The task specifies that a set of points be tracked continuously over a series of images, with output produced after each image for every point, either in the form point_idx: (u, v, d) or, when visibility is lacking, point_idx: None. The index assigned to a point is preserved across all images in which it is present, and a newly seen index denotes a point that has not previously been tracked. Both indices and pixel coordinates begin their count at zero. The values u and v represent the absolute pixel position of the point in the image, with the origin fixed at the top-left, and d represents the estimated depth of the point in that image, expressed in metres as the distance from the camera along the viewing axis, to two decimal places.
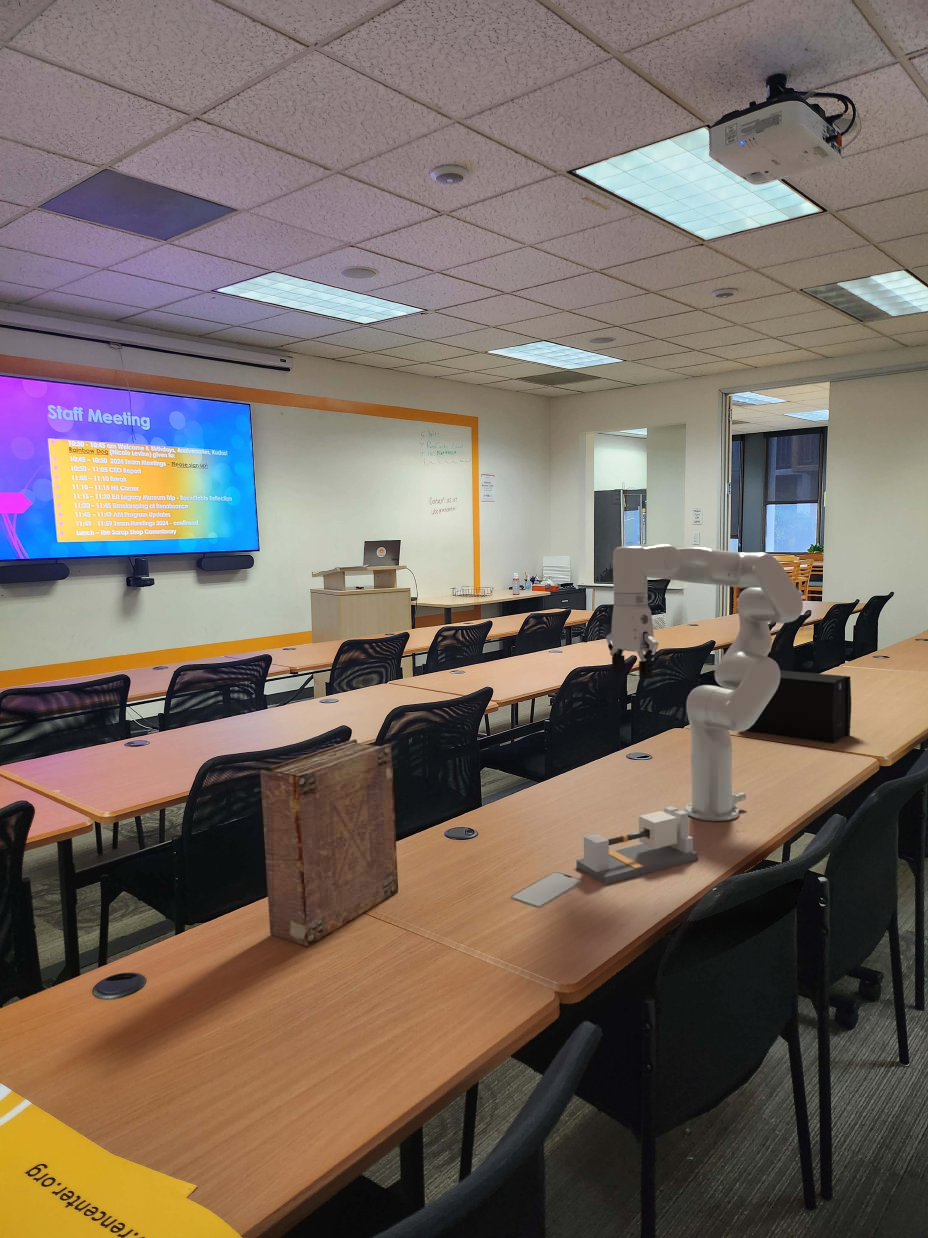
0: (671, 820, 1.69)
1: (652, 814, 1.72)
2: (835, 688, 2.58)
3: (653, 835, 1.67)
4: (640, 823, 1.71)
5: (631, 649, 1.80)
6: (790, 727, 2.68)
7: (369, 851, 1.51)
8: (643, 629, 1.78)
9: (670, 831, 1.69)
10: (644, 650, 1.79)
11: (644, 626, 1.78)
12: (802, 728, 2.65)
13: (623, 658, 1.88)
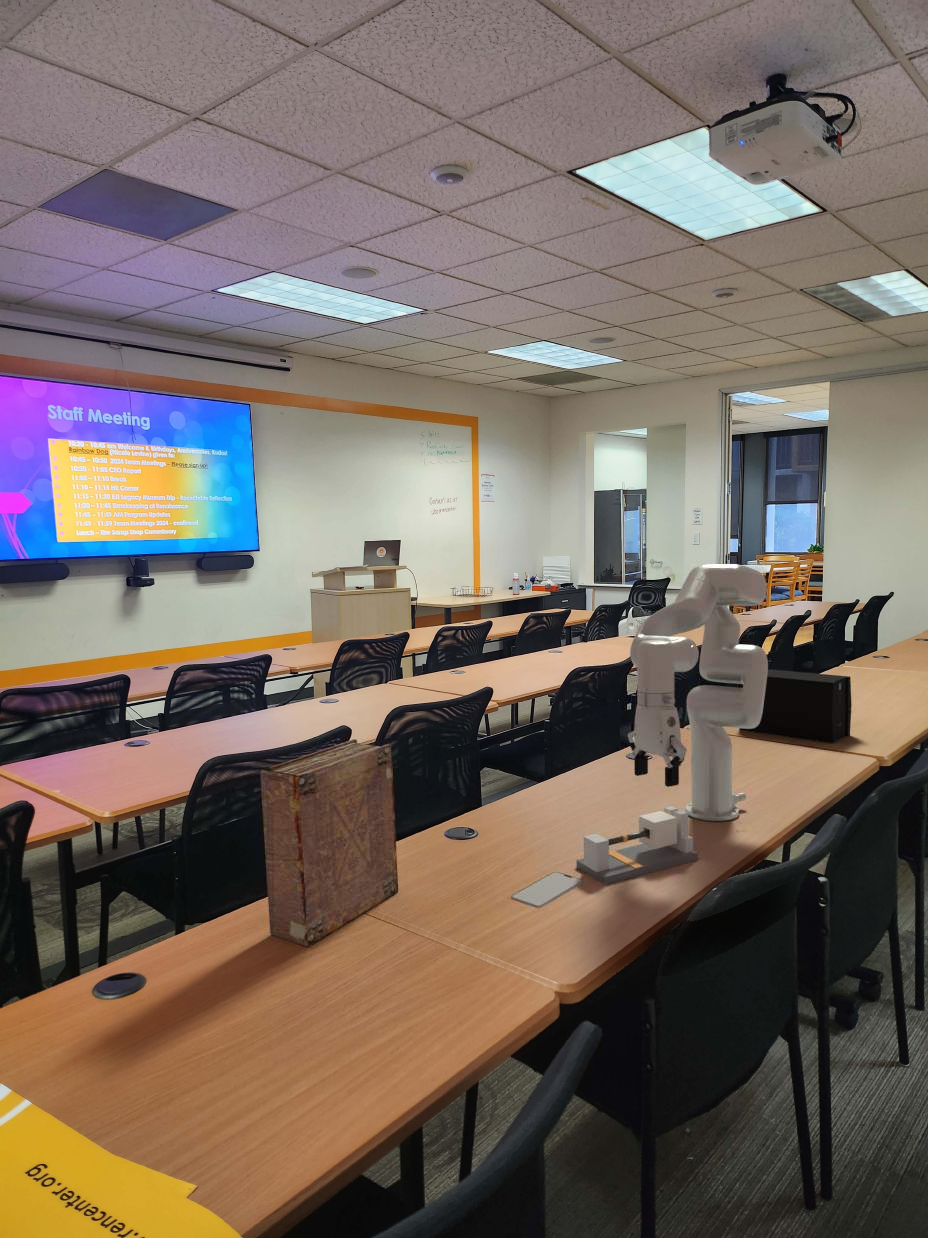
0: (671, 820, 1.69)
1: (652, 814, 1.72)
2: (835, 688, 2.58)
3: (653, 835, 1.67)
4: (640, 823, 1.71)
5: (657, 754, 1.65)
6: (790, 727, 2.68)
7: (369, 851, 1.51)
8: (670, 732, 1.64)
9: (670, 831, 1.69)
10: (670, 755, 1.65)
11: (671, 729, 1.64)
12: (802, 728, 2.65)
13: (646, 759, 1.73)
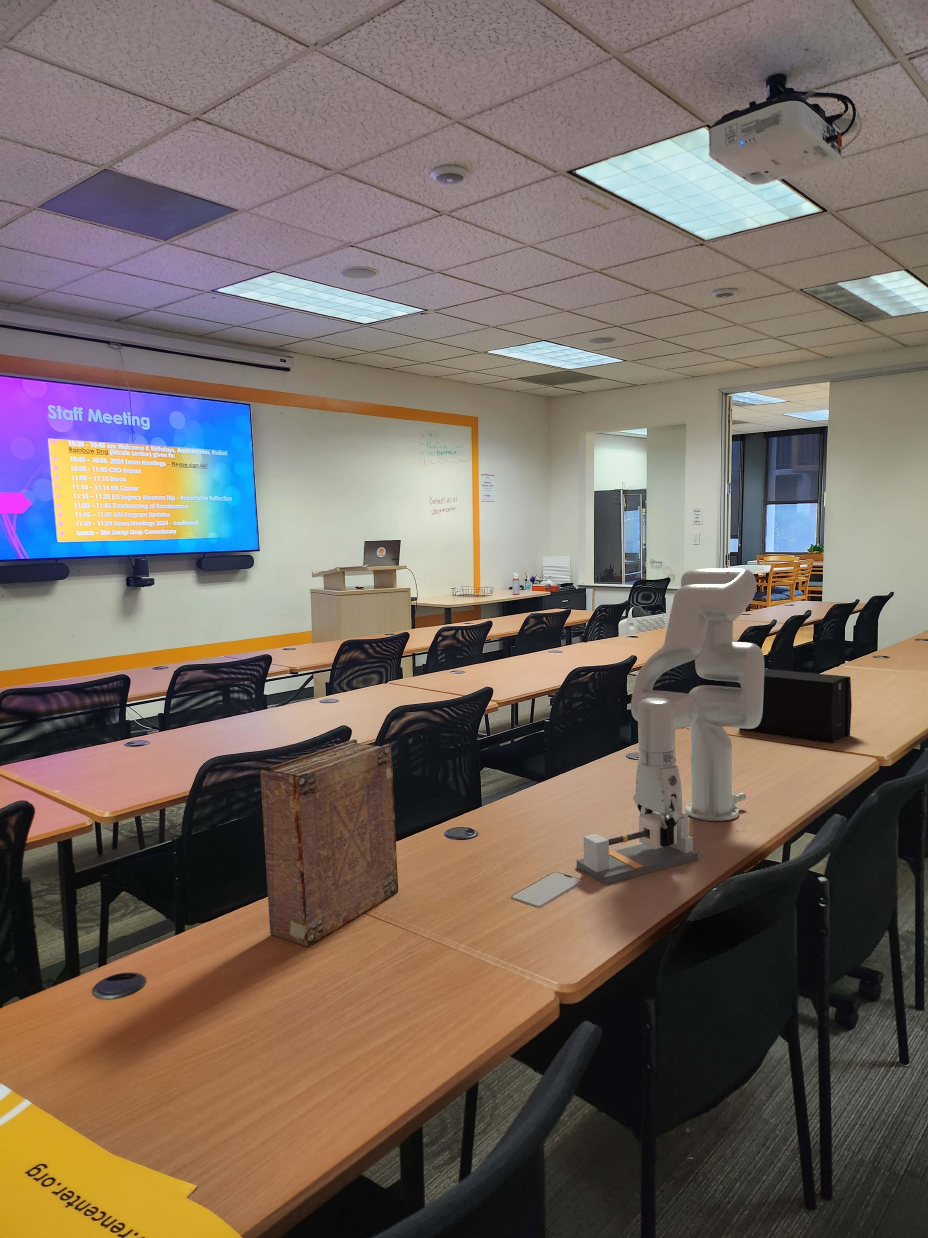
0: None
1: (652, 814, 1.72)
2: (834, 688, 2.58)
3: (653, 835, 1.67)
4: (640, 823, 1.71)
5: (658, 812, 1.67)
6: (790, 727, 2.68)
7: (369, 851, 1.51)
8: (671, 791, 1.65)
9: None
10: None
11: (672, 788, 1.65)
12: (801, 728, 2.65)
13: None
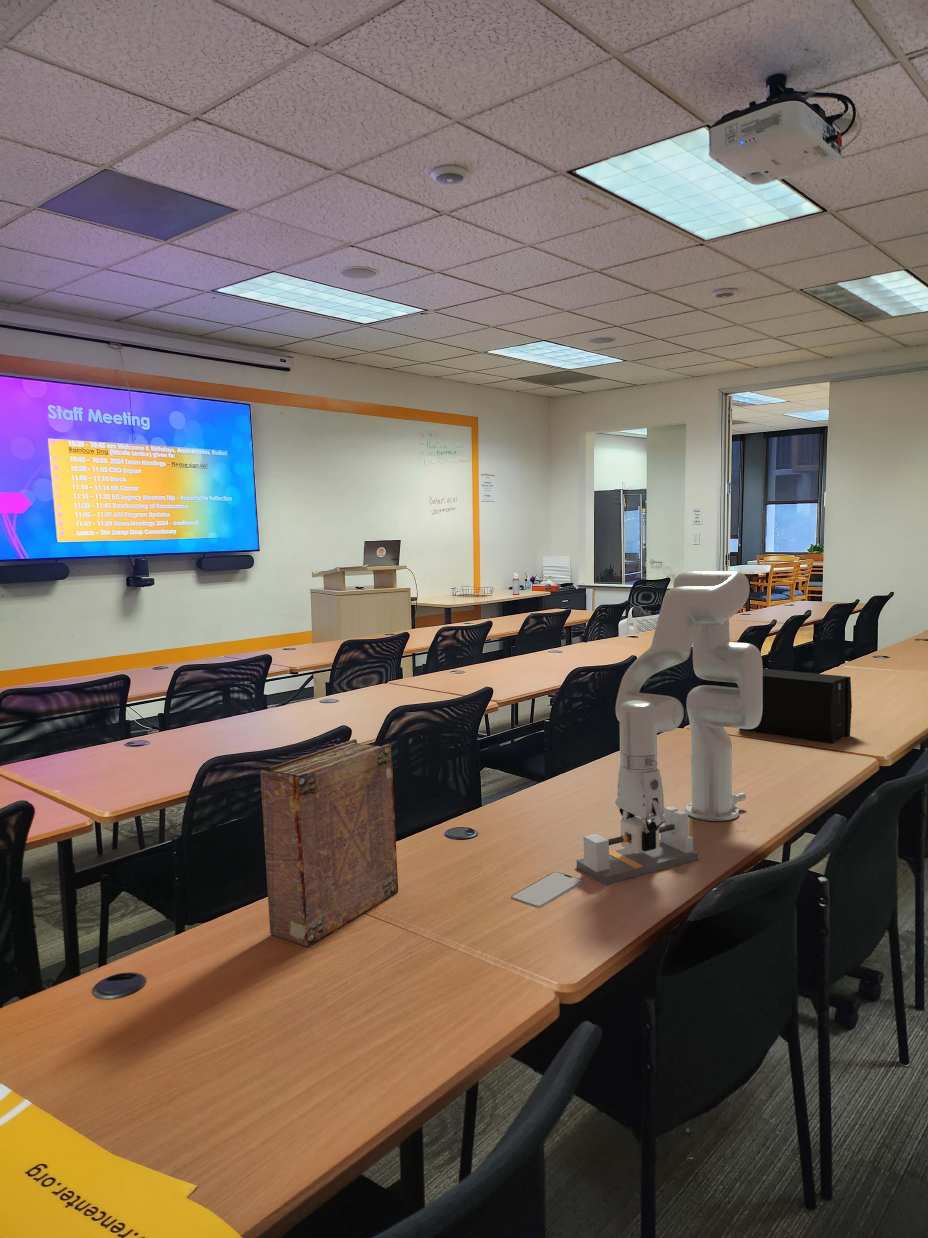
0: None
1: (634, 818, 1.70)
2: (834, 688, 2.58)
3: (635, 840, 1.65)
4: (622, 827, 1.69)
5: (640, 816, 1.65)
6: (790, 727, 2.68)
7: (369, 851, 1.51)
8: (653, 795, 1.63)
9: None
10: None
11: (654, 792, 1.63)
12: (801, 728, 2.65)
13: None
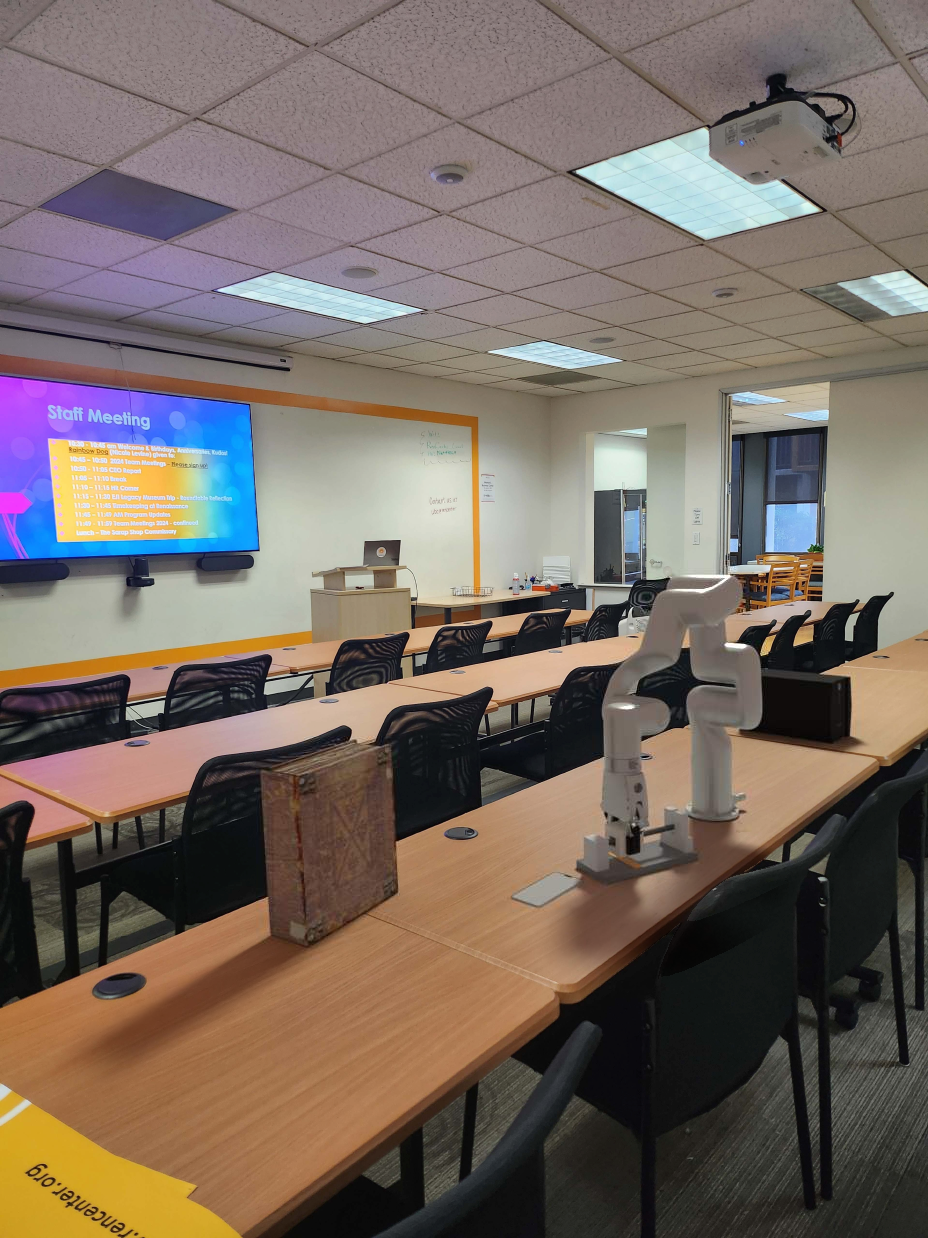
0: None
1: (618, 822, 1.68)
2: (833, 688, 2.58)
3: (619, 843, 1.63)
4: (606, 831, 1.67)
5: (624, 820, 1.63)
6: (789, 727, 2.68)
7: (369, 851, 1.51)
8: (637, 799, 1.61)
9: None
10: (634, 822, 1.64)
11: (638, 796, 1.61)
12: (801, 728, 2.65)
13: None
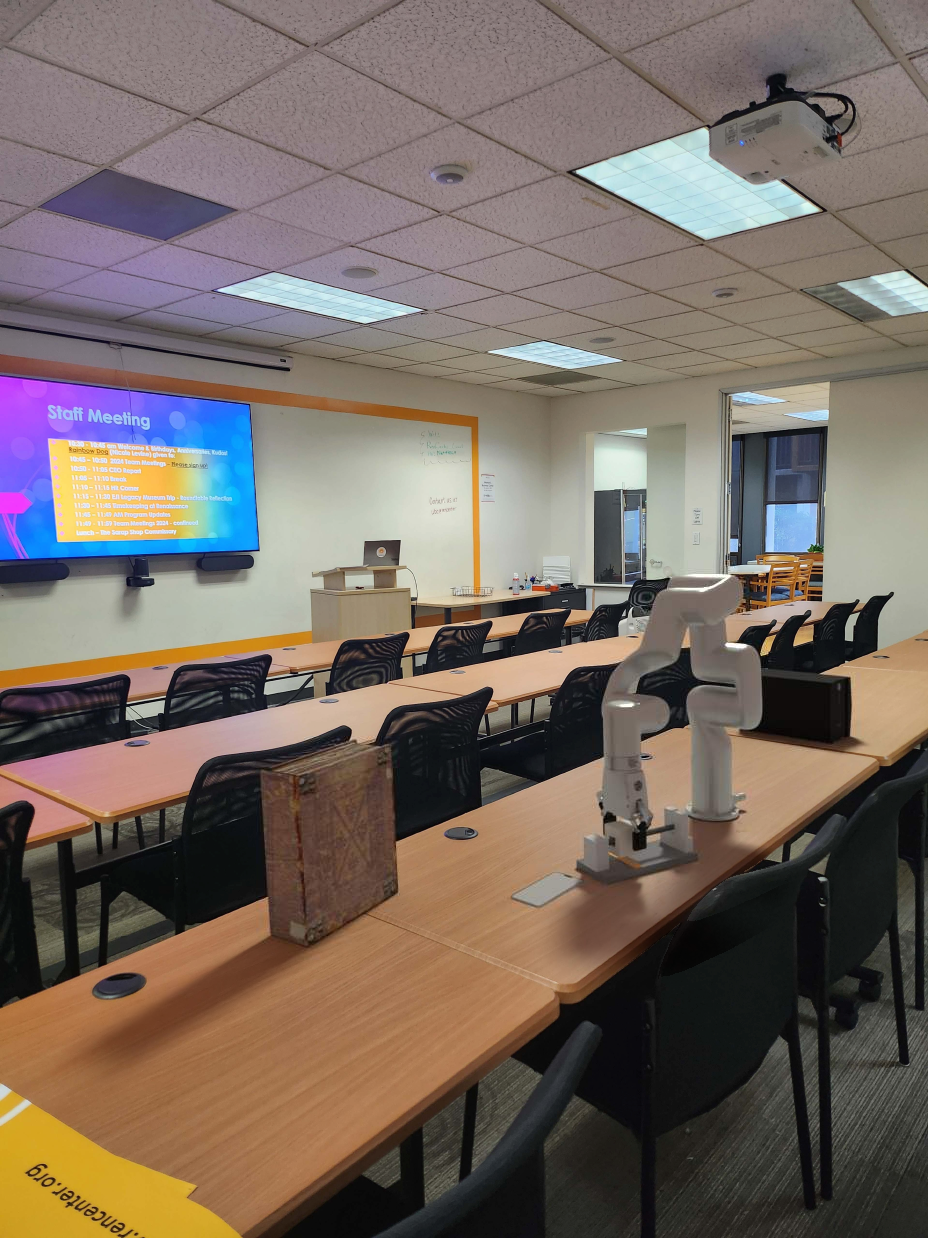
0: None
1: (618, 822, 1.68)
2: (833, 688, 2.57)
3: (618, 843, 1.63)
4: (606, 831, 1.67)
5: (624, 817, 1.63)
6: (789, 727, 2.68)
7: (369, 851, 1.51)
8: (637, 797, 1.61)
9: None
10: (638, 819, 1.62)
11: (638, 794, 1.61)
12: (800, 728, 2.65)
13: (615, 819, 1.71)
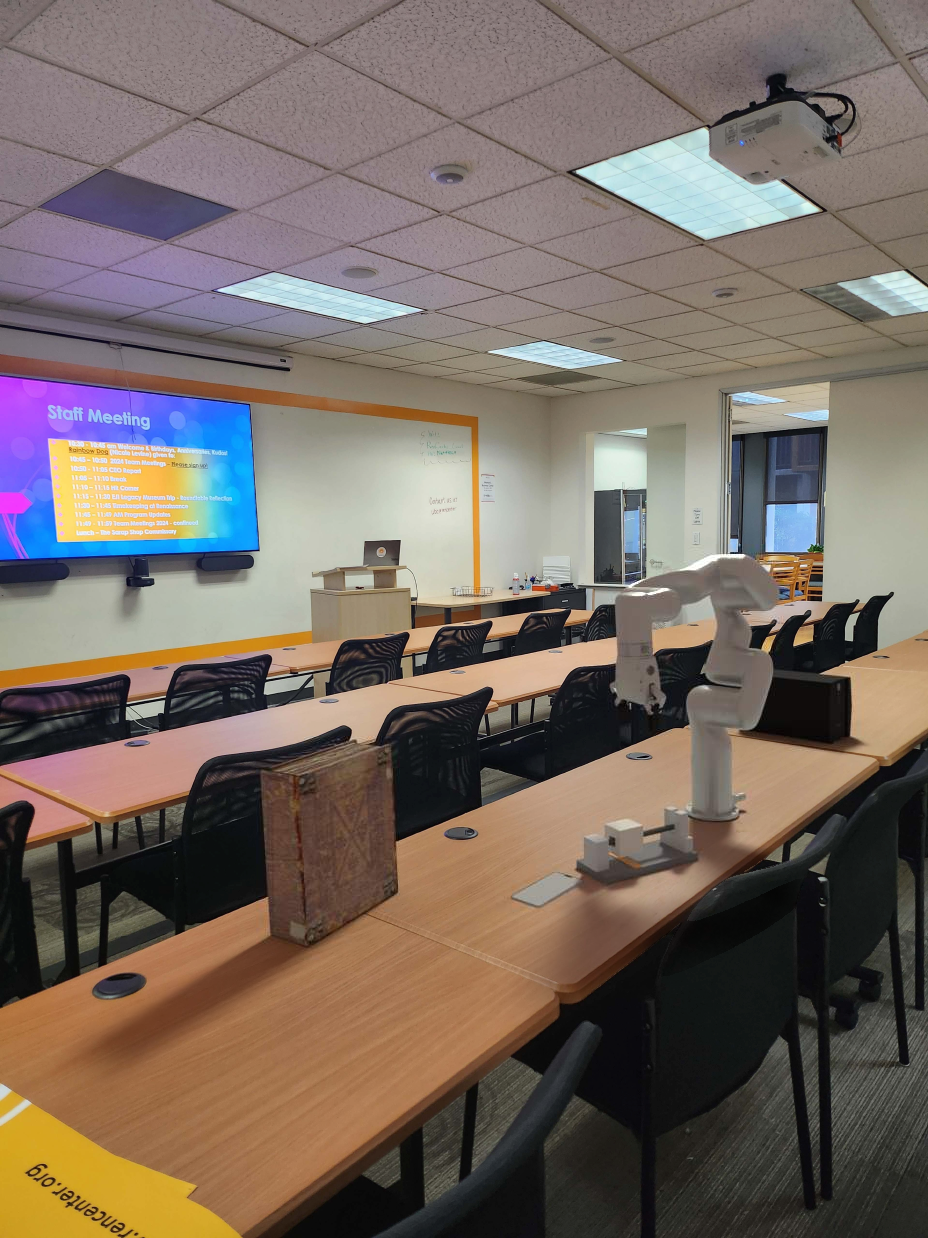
0: (637, 828, 1.65)
1: (618, 822, 1.68)
2: (832, 688, 2.57)
3: (618, 843, 1.63)
4: (606, 831, 1.67)
5: (637, 702, 1.71)
6: (789, 727, 2.68)
7: (369, 851, 1.51)
8: (650, 680, 1.69)
9: (636, 839, 1.65)
10: (651, 702, 1.71)
11: (650, 678, 1.69)
12: (800, 728, 2.65)
13: (628, 707, 1.79)
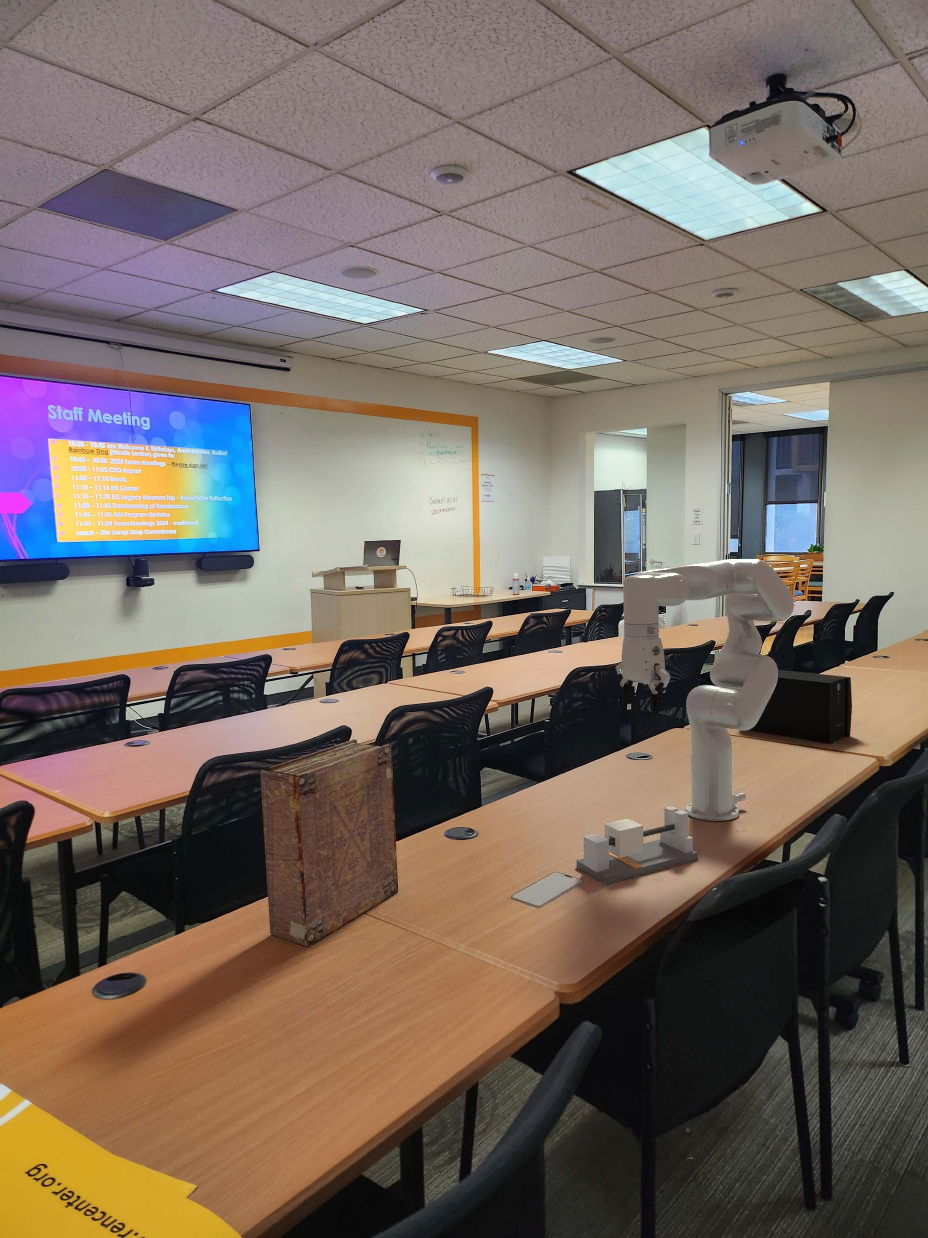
0: (637, 828, 1.65)
1: (618, 822, 1.68)
2: (832, 688, 2.57)
3: (618, 843, 1.63)
4: (606, 831, 1.67)
5: (642, 681, 1.75)
6: (788, 727, 2.68)
7: (369, 851, 1.51)
8: (655, 661, 1.74)
9: (636, 839, 1.65)
10: (655, 682, 1.75)
11: (655, 658, 1.74)
12: (800, 728, 2.65)
13: (633, 689, 1.83)
